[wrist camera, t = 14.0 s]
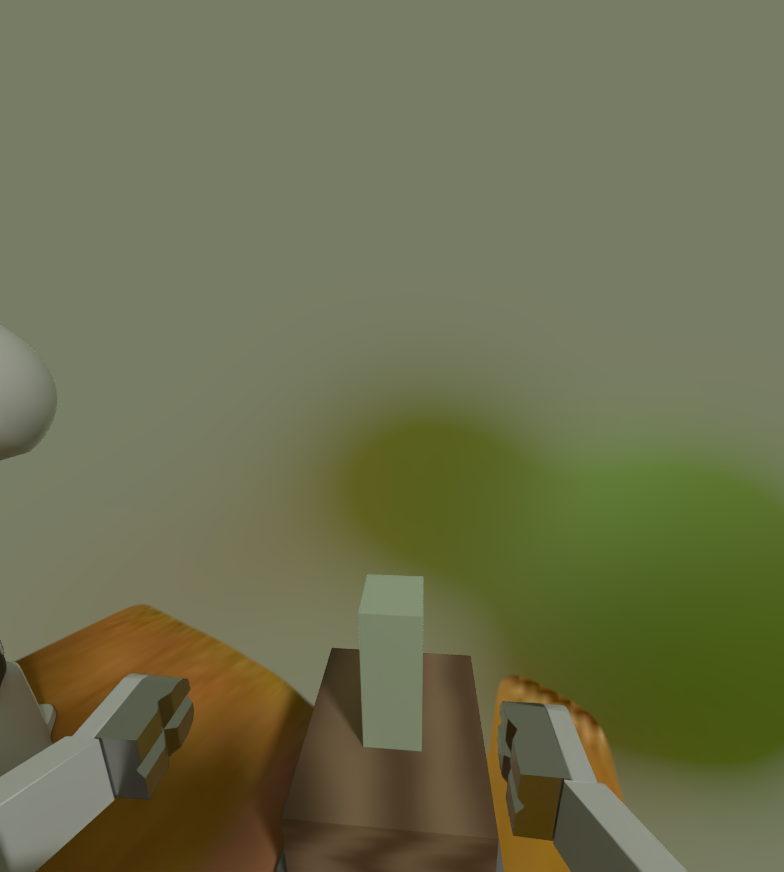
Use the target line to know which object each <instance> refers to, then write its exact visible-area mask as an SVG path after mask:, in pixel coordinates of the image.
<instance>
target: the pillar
mask: <svg viewBox="0 0 784 872" xmlns="http://www.w3.org/2000/svg"><path fill="white" fill-rule="evenodd" d="M358 624H359V650H360V676H361V702H362V727H363V747H372V748H385V749H397V750H410V751H422V685H423V577H421V576H420V577H419V576H396V575H370V574H368V575H367V579H366V583H365V587H364V591H363V595H362V599H361V604H360V608H359V612H358Z"/></svg>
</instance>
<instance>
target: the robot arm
mask: <svg viewBox="0 0 784 872" xmlns="http://www.w3.org/2000/svg"><path fill="white" fill-rule="evenodd" d="M56 406H57V394H56V387H55V383H54V380H53V377H52V375H51V373H50V371H49V369H48V367H47V366H46V364H45V363H44V361H43V360H42V358H41V357H40V356H39V355H38V354H37V352H36V351H35V350H34V349H33V348H32V347H31V346H30V345H28V344H27V343H26V342H25V341H24V340H23V339H22V338H20V337H19V336H17V335H16V334H15V333H13V332H12V331H10V330H9V329H7V328H5V327H4V326H2V325H0V460H3V459H7V458H10V457H14V456H17V455H21V454H24V453H27V452H29V451H31V450H32V449H33V448H34V447H35V446H36V445H37V444H38V443H39V442H40V441H41V440H42V439H43V437H44V436H45V434H46V433H47V431H48V430H49V428H50V426H51V424H52V422H53V419H54V416H55V413H56ZM3 654H4V651H3V646H2V643H1V641H0V872H36V871H37V870H38V869H39V868H40V867H41V866H42V865H43V864H44V863H46V862H47V861H48V860H49V859H50V858H51V857H52V856H53V855H54V854H55V853H57V852H58V851H59V850H60V849H61V848H62V847H63V846H64V845H65V844H67V843H68V842H69V841H70V840H71V839H72V838H73V837H74V836H75V835H76V834H78V833H79V832H80V831H81V830H82V829H83V828H84V827H85V826H86V825H87V824H89V823H90V822H91V821H92V820H93V819H94V818H95V817H96V816H97V815H98V814H100V813H101V812H102V811H103V810H104V809H105V808H106V807H107V806H108V805H109V804H111V803H112V802H113V801H114V797H119V798H135V799H150V798H151V797H152V795H153V793H154V792H155V790H156V788H157V787H158V785H159V783H160V781H161V780H162V778H163V776H164V775H165V773H166V771H167V770H168V768H169V756H170V755H171V754H173V753H174V752H175V751H176V750H178V749H179V748H180V747H181V746H182V744H183V742H184V741H185V739H186V737H187V735H188V733H189V730H190V727H191V724H192V722H193V715H194V707H193V702H192V701H191V700H190V699H189V698H188V697H187V696H186V695H187V694H188V692H189V691H190V685H189V680H188V679H183V678H174V677H165V676H155V675H145V674H133V673H131V674H129V675H128V676H126V677H124V678H123V679H122V680H121V681H120V683H119V684H118V685H117V686H116V687H115V688H114V689H113V691H112V692H111V693H110V694H109V695H108V696H107V697H106V698H105V700H104V701H103V702H102V703H101V704H100V705H99V706H98V707H97V709H96V710H95V711H94V712H93V713H92V714H91V715H90V717H89V718H88V719H87V720H86V721H85V722H84V723H83V724H82V726H81V727H80V728H79V729H78V730H77V731H76V732H75V733H74V735H73V736H65V737H64V738H62V739H61V740H59V741H57V742H56V743H54V744H53V743H52V741H51V731H52V728H53V726H54V723H55V719H56V711H55V709H54V707H53V705H51V704H40V705H39V704H38V702H37V700H36V698H35V696H34V694H33V691H32V689H31V687H30V685H29V683H28V681H27V679H26V677H25V675H24V673H23V671H22V669H21V667H20V666H19V664H17V663H16V662H6V661H5V658H4V655H3ZM500 717H501V722H502V724H501V725H499V726H498V736H497V740H498V756H499V763H500V769H501V775H502V776H503V778H504V779H505V780H506V782H507V792H506V801H507V807H508V812H509V817H510V822H511V827H512V832H513V836H520V837H527V838H535V839H542V840H550V841H554V842H553V844H554V846H555V847H556V849H557V850H558V852H559V853H560V855H561V856H562V858H563V860H564V861H565V863H566V864H567V866H568V867H569V869H570V870H571V872H687V870H686V869H684V867H683V866H682V865H681V864H680V863H679V862H678V861H677V860H676V859H675V858H674V857H673V856H672V855H671V854H670V852H669V851H668V850H667V849H666V848H665V847H664V846H663V845H662V844H661V843H660V842H659V841H658V840H657V839H656V838H655V837H654V836H653V834H651V832H650V831H649V830H648V829H647V828H646V827H645V826H644V825H643V824H642V823H641V822H640V821H639V820H638V819H637V818H636V816H635V815H633V813H632V812H631V811H630V810H629V809H628V808H627V807H626V806H625V805H624V804H623V803H622V802H621V801H620V800H619V798H618V797H617V796H616V795H615V794H614V793H613V792H612V791H611V790H610V789H609V788H608V787H607V786H606V785H605V784H604V783H597V781H596V778H595V776H594V773H593V771H592V768H591V766H590V763H589V761H588V758H587V756H586V753H585V751H584V748H583V746H582V743H581V741H580V739H579V736H578V734H577V731H576V729H575V726H574V724H573V721H572V719H571V716H570V714H569V711H568V710H567V708H566V707H565V706H561V705H548V704H543V705H542V704H541V703H524V702H506V701H502V703H501V705H500Z"/></svg>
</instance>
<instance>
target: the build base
mask: <svg viewBox="0 0 784 872" xmlns="http://www.w3.org/2000/svg"><path fill="white" fill-rule="evenodd" d="M281 825H282V834H283V842H284V845H283V849H282V852H281V856H280V859H279V863H278V867H277V870H276V872H504V870H503V864H502V857H501V851H500V844H499V838H498V831H497V825H496V818H495V812H494V806H493V799H492V793H491V786H490V780H489V773H488V767H487V760H486V754H485V747H484V741H483V734H482V729H481V722H480V715H479V708H478V702H477V695H476V689H475V683H474V676H473V670H472V663H471V657H470V656H465V655H448V654H447V655H446V654H429V653H423V685H422V751H410V750H397V749H385V748H372V747H363V727H362V702H361V676H360V650H358V649H341V648H332V650H331V653H330V656H329V659H328V663H327V666H326V670H325V673H324V676H323V680H322V683H321V686H320V689H319V693H318V696H317V699H316V703H315V706H314V709H313V713H312V716H311V719H310V723H309V726H308V729H307V733H306V736H305V739H304V743H303V746H302V749H301V753H300V756H299V759H298V763H297V766H296V769H295V773H294V776H293V779H292V782H291V786H290V789H289V792H288V796H287V799H286V802H285V806H284V809H283V812H282V816H281Z"/></svg>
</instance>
